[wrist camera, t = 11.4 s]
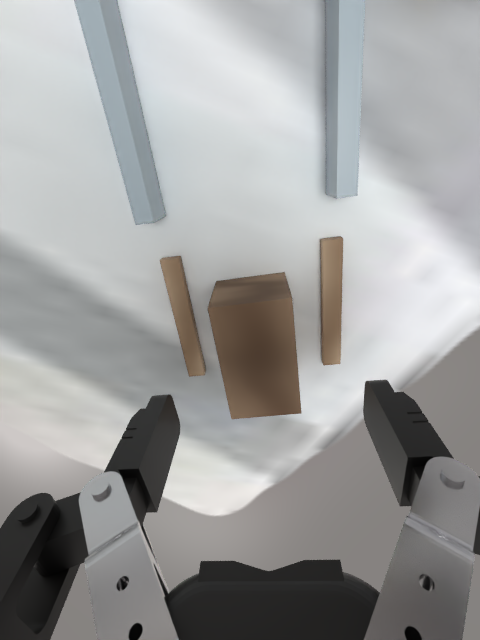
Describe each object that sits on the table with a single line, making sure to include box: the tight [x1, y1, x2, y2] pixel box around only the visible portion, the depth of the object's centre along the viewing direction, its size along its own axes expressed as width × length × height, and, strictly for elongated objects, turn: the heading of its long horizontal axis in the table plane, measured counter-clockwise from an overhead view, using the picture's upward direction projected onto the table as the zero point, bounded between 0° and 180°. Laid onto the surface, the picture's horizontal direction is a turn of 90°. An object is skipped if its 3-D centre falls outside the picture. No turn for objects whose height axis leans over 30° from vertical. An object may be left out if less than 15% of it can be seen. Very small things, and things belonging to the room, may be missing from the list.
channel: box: [74, 0, 365, 225], centre depth 14 cm, size 12×12×2 cm
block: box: [208, 272, 301, 419], centre depth 20 cm, size 4×8×4 cm, turn 9°
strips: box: [160, 237, 343, 376], centre depth 21 cm, size 11×9×1 cm
